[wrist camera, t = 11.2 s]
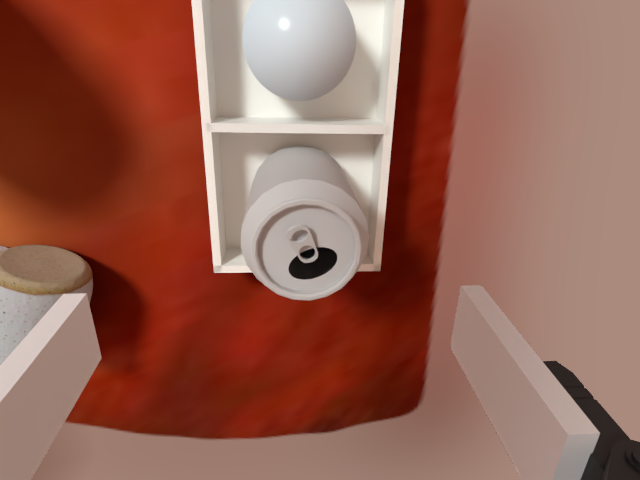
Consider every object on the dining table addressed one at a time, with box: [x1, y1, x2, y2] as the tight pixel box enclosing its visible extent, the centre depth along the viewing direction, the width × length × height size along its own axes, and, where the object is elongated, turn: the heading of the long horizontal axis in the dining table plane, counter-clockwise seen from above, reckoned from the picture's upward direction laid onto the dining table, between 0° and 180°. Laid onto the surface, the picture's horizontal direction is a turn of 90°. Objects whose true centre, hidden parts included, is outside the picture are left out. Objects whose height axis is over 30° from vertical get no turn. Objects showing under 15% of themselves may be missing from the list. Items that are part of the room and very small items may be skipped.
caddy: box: [192, 0, 405, 273], centre depth 32 cm, size 22×13×4 cm, turn 179°
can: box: [241, 145, 369, 301], centre depth 29 cm, size 8×8×12 cm
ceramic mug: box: [0, 245, 93, 365], centre depth 34 cm, size 11×8×8 cm
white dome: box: [242, 0, 356, 101], centre depth 29 cm, size 7×7×4 cm
